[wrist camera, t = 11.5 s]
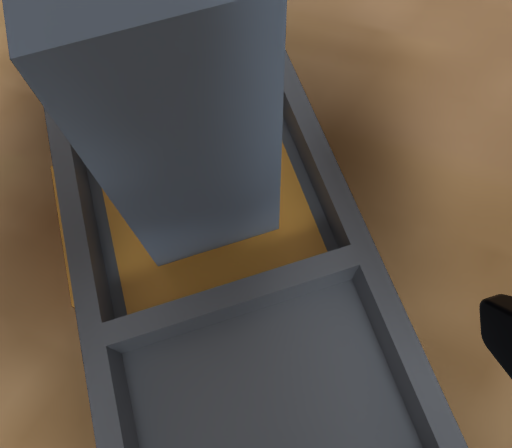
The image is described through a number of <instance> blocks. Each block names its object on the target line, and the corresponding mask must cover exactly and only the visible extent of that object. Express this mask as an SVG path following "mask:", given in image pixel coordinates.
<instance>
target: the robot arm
mask: <svg viewBox="0 0 512 448" xmlns="http://www.w3.org/2000/svg"><path fill="white" fill-rule="evenodd" d="M480 323H481V335H482V339H483V341H484V343H485V345H486V347H487V348H488V349H489V351H490V352H491V353H492V354H493V356H494V357H495V358H496V360H497V361H498V362H499V363H500V365H501V366H502V367H503V369H504V370H505V371H506V372H507V374H508V375H509V376H510V378H511V379H512V296H508V295H504V294H498V295H495V296H492V297H489V298H486V299H483V300H482V301H481V303H480Z"/></svg>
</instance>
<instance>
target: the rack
mask: <svg viewBox="0 0 512 448" xmlns="http://www.w3.org/2000/svg"><path fill="white" fill-rule="evenodd" d="M44 112H45V118H46V125H47V131H48V138H49V144H50V151H51V157H52V163H53V166H50V167H51V173H52V180H53V186H54V193H55V200H56V206H57V213H58V219H59V226H60V232H61V239H62V246H63V252H64V259H65V265H66V272H67V278H68V285H69V292H70V298H71V305H72V307H74V308H75V312H76V319H77V325H78V331H79V338H80V344H81V351H82V357H83V364H84V370H85V377H86V383H87V390H88V396H89V403H90V409H91V415H92V422H93V428H94V435H95V441H96V448H468V446H467V444H466V442H465V440H464V437H463V435H462V433H461V431H460V429H459V427H458V424H457V422H456V420H455V418H454V416H453V413H452V411H451V409H450V407H449V405H448V403H447V400H446V398H445V396H444V394H443V392H442V390H441V387H440V385H439V383H438V381H437V379H436V376H435V374H434V372H433V370H432V368H431V366H430V363H429V361H428V359H427V357H426V355H425V353H424V350H423V348H422V346H421V344H420V342H419V339H418V337H417V335H416V333H415V331H414V329H413V326H412V324H411V322H410V320H409V318H408V316H407V313H406V311H405V309H404V307H403V305H402V302H401V300H400V298H399V296H398V294H397V292H396V289H395V287H394V285H393V283H392V281H391V279H390V276H389V274H388V272H387V270H386V268H385V265H384V263H383V261H382V259H381V257H380V255H379V252H378V250H377V248H376V246H375V244H374V242H373V239H372V237H371V235H370V233H369V231H368V228H367V226H366V224H365V222H364V220H363V218H362V215H361V213H360V211H359V209H358V207H357V205H356V202H355V200H354V198H353V196H352V194H351V192H350V189H349V187H348V185H347V183H346V181H345V178H344V176H343V174H342V172H341V170H340V168H339V165H338V163H337V161H336V159H335V157H334V155H333V152H332V150H331V148H330V146H329V144H328V141H327V139H326V137H325V135H324V133H323V131H322V128H321V126H320V124H319V122H318V120H317V118H316V115H315V113H314V111H313V109H312V107H311V104H310V102H309V100H308V98H307V96H306V94H305V91H304V89H303V87H302V85H301V83H300V81H299V78H298V76H297V74H296V72H295V70H294V67H293V65H292V63H291V61H290V59H289V57H288V54H287V52H286V50H285V68H284V97H283V126H282V155H281V185H280V214H279V229H277V230H274V231H270V232H267V233H264V234H261V235H258V236H254V237H251V238H248V239H245V240H242V241H238V242H235V243H232V244H229V245H226V246H222V247H219V248H216V249H213V250H209V251H206V252H203V253H200V254H197V255H193V256H190V257H187V258H184V259H181V260H177V261H174V262H171V263H168V264H165V265H161V266H157V265H156V263H155V262H154V260H153V259H152V258H151V256H150V255H149V253H148V252H147V251H146V249H145V248H144V246H143V245H142V244H141V242H140V241H139V239H138V238H137V237H136V235H135V234H134V232H133V231H132V230H131V228H130V227H129V225H128V224H127V223H126V221H125V220H124V218H123V217H122V216H121V214H120V213H119V211H118V210H117V209H116V207H115V206H114V204H113V203H112V202H111V200H110V199H109V197H108V196H107V195H106V193H105V192H104V190H103V189H102V187H101V186H100V185H99V183H98V182H97V180H96V179H95V178H94V176H93V175H92V173H91V172H90V171H89V169H88V168H87V166H86V165H85V164H84V162H83V161H82V159H81V158H80V157H79V155H78V154H77V152H76V151H75V150H74V148H73V147H72V145H71V144H70V143H69V141H68V140H67V138H66V137H65V136H64V134H63V133H62V131H61V130H60V129H59V127H58V126H57V124H56V123H55V122H54V120H53V119H52V117H51V116H50V115H49V113H48V112H47V110H46V109H45V108H44Z"/></svg>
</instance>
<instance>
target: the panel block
mask: <svg viewBox="0 0 512 448" xmlns="http://www.w3.org/2000/svg"><path fill="white" fill-rule="evenodd" d="M2 2H3V10H4V17H5V25H6V33H7V41H8V48H9V56H10V60H11V61H12V63H13V64H14V66H15V67H16V68H17V70H18V71H19V73H20V74H21V75H22V77H23V78H24V80H25V81H26V82H27V84H28V85H29V87H30V88H31V89H32V91H33V92H34V94H35V95H36V96H37V98H38V99H39V101H40V102H41V103H42V105H43V106H44V108H45V109H46V110H47V112H48V113H49V115H50V116H51V117H52V119H53V120H54V122H55V123H56V124H57V126H58V127H59V129H60V130H61V131H62V133H63V134H64V136H65V137H66V138H67V140H68V141H69V143H70V144H71V145H72V147H73V148H74V150H75V151H76V152H77V154H78V155H79V157H80V158H81V159H82V161H83V162H84V164H85V165H86V166H87V168H88V169H89V171H90V172H91V173H92V175H93V176H94V178H95V179H96V180H97V182H98V183H99V185H100V186H101V187H102V189H103V190H104V192H105V193H106V195H107V196H108V197H109V199H110V200H111V202H112V203H113V204H114V206H115V207H116V209H117V210H118V211H119V213H120V214H121V216H122V217H123V218H124V220H125V221H126V223H127V224H128V225H129V227H130V228H131V230H132V231H133V232H134V234H135V235H136V237H137V238H138V239H139V241H140V242H141V244H142V245H143V246H144V248H145V249H146V251H147V252H148V253H149V255H150V256H151V258H152V259H153V260H154V262H155V263H156V265H157V266H161V265H165V264H168V263H171V262H174V261H177V260H181V259H184V258H187V257H190V256H193V255H197V254H200V253H203V252H206V251H209V250H213V249H216V248H219V247H222V246H226V245H229V244H232V243H235V242H238V241H242V240H245V239H248V238H251V237H254V236H258V235H261V234H264V233H267V232H270V231H274V230H277V229H279V214H280V185H281V155H282V126H283V97H284V68H285V38H286V9H287V0H2Z"/></svg>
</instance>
